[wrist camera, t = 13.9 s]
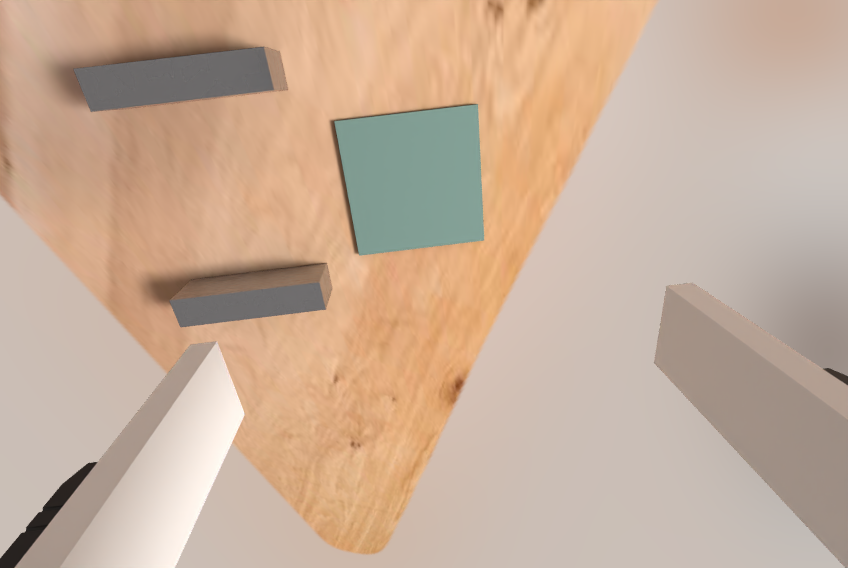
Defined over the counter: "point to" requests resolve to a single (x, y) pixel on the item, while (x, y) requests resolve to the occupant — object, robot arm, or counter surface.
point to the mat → (413, 178)
